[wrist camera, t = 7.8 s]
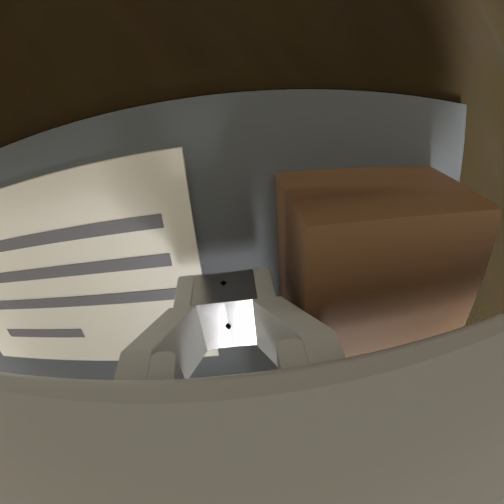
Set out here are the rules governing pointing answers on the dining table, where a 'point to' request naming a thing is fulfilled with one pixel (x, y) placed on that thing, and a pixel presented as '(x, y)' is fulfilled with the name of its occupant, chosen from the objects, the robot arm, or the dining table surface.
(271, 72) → the dining table surface
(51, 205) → the letter
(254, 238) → the desk mat
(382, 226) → the walnut block
